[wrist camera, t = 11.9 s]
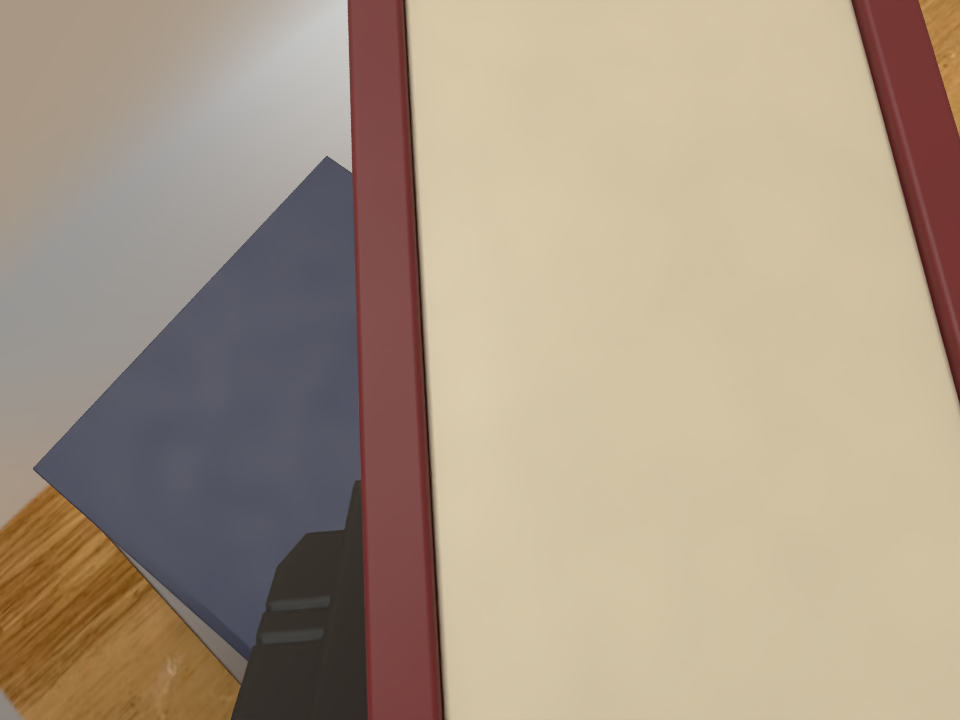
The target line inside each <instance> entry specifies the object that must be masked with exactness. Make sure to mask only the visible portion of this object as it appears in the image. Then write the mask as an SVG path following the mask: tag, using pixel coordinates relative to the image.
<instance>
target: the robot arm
mask: <svg viewBox="0 0 960 720" xmlns="http://www.w3.org/2000/svg"><path fill="white" fill-rule="evenodd" d="M265 605H266V612H263V614H262V618H261V621H260V624H259V627H258V631H257V634H256V645H254V646H253V647H252V651H251V654H250V657H249V661H248V664H247V667H246V671H245V674H244V677H243V681H242V684H241V687H240V691H239V694H238V697H237V701H236V704H235V707H234V711H233V714H232V717H231V720H368V713H367V677H366V641H365V605H364V569H363V533H362V497H361V480H356V481H355V483H354V486H353V490H352V495H351V499H350V504H349V509H348V514H347V519H346V524H345V529H344V530H335V531H323V532H311V533H306V534H305V535H304V537H303V538H302V539H301V540H300V541H299V542H298V543H297V544H296V546H295V547H294V548H293V549H292V550H291V551H290V552H289V553H288V555H287V556H286V557H285V558H284V559H283V560H282V561H281V562H280V564H279V565H278V566H277V568H276V571H275V574H274V578H273V581H272V584H271V588H270V591H269V594H268V598H267V601H266V604H265Z"/></svg>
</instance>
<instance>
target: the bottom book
mask: <svg viewBox="0 0 960 720" xmlns="http://www.w3.org/2000/svg"><path fill="white" fill-rule="evenodd" d="M33 470H34V471H36V472H37V473H38V474H39V475H40V476H41V477H42V478H43V479H45V480H46V481H47V482H48V483H49V484H50V485H51V486H52V487H53V488H55V489H56V490H57V491H58V492H59V493H60V494H61V495H62V496H63V497H65V498H66V499H67V500H68V501H69V502H70V503H71V504H72V505H74V506H75V507H76V508H77V509H78V510H79V511H80V512H81V513H83V514H84V515H85V516H86V517H87V518H88V519H89V520H90V521H91V522H93V523H94V524H95V525H96V526H97V527H98V528H99V529H100V530H102V531H103V532H104V533H105V534H106V535H107V536H108V537H109V538H111V539H112V540H113V541H114V542H115V543H116V544H117V545H118V546H119V547H121V548H122V549H123V550H124V551H125V552H126V553H127V554H128V555H130V556H131V557H132V558H133V559H134V560H135V561H136V562H137V563H139V564H140V565H141V566H142V567H143V568H144V569H145V570H146V571H147V572H149V573H150V574H151V575H152V576H153V577H154V578H155V579H156V580H158V581H159V582H160V583H161V584H162V585H163V586H164V587H165V588H167V589H168V590H169V591H170V592H171V593H172V594H173V595H174V596H175V597H177V598H178V599H179V600H180V601H181V602H182V603H183V604H184V605H186V606H187V607H188V608H189V609H190V610H191V611H192V612H193V613H195V614H196V615H197V616H198V617H199V618H200V619H201V620H202V621H203V622H205V623H206V624H207V625H208V626H209V627H210V628H211V629H212V630H214V631H215V632H216V633H217V634H218V635H219V636H220V637H221V638H223V639H224V640H225V641H226V642H227V643H228V644H229V645H230V646H231V647H233V648H234V649H235V650H236V651H237V652H238V653H239V654H240V655H242V656H243V657H244V658H245V659H246V660H247V661H249V657H250V654H251V651H252V647H253V646H254V645H256V634H257V631H258V627H259V624H260V621H261V618H262V614H263V612H266V605H265V604H266V601H267V598H268V594H269V591H270V588H271V584H272V581H273V578H274V574H275V571H276V568H277V566H278V565H279V564H280V562H281V561H282V560H283V559H284V558H285V557H286V556H287V555H288V553H289V552H290V551H291V550H292V549H293V548H294V547H295V546H296V544H297V543H298V542H299V541H300V540H301V539H302V538H303V537H304V535H305V534H306V533H311V532H323V531H335V530H344V529H345V524H346V519H347V514H348V509H349V504H350V499H351V495H352V490H353V486H354V483H355V481H356V480H361V461H360V425H359V390H358V354H357V318H356V282H355V246H354V210H353V174H352V173H351V172H350V171H348V170H346V169H345V168H344V167H342V166H341V165H339V164H338V163H336V162H335V161H334V160H332V159H331V158H329V157H328V156H326V157H325V158H324V159H323V160H322V162H320V164H319V165H318V166H317V167H316V168H315V169H314V170H313V171H312V172H311V173H310V174H309V175H308V176H307V177H306V178H305V180H304V181H303V182H302V183H301V184H300V185H299V186H298V187H297V188H296V189H295V190H294V191H293V192H292V193H291V194H290V196H289V197H288V198H287V199H286V200H285V201H284V202H283V203H282V204H281V205H280V206H279V207H278V208H277V209H276V210H275V212H274V213H273V214H272V215H271V216H270V217H269V218H268V219H267V220H266V221H265V222H264V223H263V224H262V225H261V226H260V227H259V228H258V230H257V231H256V232H255V233H254V234H253V235H252V236H251V237H250V238H249V239H248V240H247V241H246V242H245V243H244V244H243V246H242V247H241V248H240V249H239V250H238V251H237V252H236V253H235V254H234V255H233V256H232V257H231V258H230V259H229V260H228V261H227V263H226V264H225V265H224V266H223V267H222V268H221V269H220V270H219V271H218V272H217V273H216V274H215V275H214V276H213V277H212V278H211V280H210V281H209V282H208V283H207V284H206V285H205V286H204V287H203V288H202V289H201V290H200V291H199V292H198V293H197V294H196V296H195V297H194V298H193V299H192V300H191V301H190V302H189V303H188V304H187V305H186V306H185V307H184V308H183V309H182V310H181V312H179V314H178V315H177V316H176V317H175V318H174V319H173V320H172V321H171V322H170V323H169V324H168V325H167V326H166V327H165V329H164V330H163V331H162V332H161V333H160V334H159V335H158V336H157V337H156V338H155V339H154V340H153V341H152V342H151V343H150V344H149V346H148V347H147V348H146V349H145V350H144V351H143V352H142V353H141V354H140V355H139V356H138V357H137V358H136V359H135V361H133V362H132V364H131V365H130V366H129V367H128V368H127V369H126V370H125V371H124V372H123V373H122V374H121V375H120V376H119V377H118V378H117V380H116V381H115V382H114V383H113V384H112V385H111V386H110V387H109V388H108V389H107V390H106V391H105V392H104V393H103V394H102V396H101V397H100V398H99V399H98V400H97V401H96V402H95V403H94V404H93V405H92V406H91V407H90V408H89V409H88V410H87V411H86V413H85V414H84V415H83V416H82V417H81V418H80V419H79V420H78V421H77V422H76V423H75V424H74V425H73V426H72V428H70V430H69V431H68V432H67V433H66V434H65V435H64V436H63V437H62V438H61V439H60V440H59V441H58V442H57V443H56V444H55V445H54V447H53V448H52V449H51V450H50V451H49V452H48V453H47V454H46V455H45V456H44V457H43V458H42V459H41V460H40V461H39V463H38V464H37V465H36V466H35V467H34V468H33Z"/></svg>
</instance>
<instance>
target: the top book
mask: <svg viewBox="0 0 960 720" xmlns="http://www.w3.org/2000/svg"><path fill="white" fill-rule="evenodd" d="M348 30H349V62H350V63H349V65H350V66H349V67H350V100H351V101H350V102H351V138H352V174H353V210H354V246H355V282H356V318H357V354H358V390H359V425H360V461H361V497H362V533H363V569H364V605H365V641H366V677H367V713H368V720H960V137H959V134H958V131H957V127H956V124H955V121H954V117H953V114H952V111H951V107H950V104H949V101H948V97H947V94H946V91H945V87H944V84H943V81H942V77H941V74H940V71H939V67H938V64H937V61H936V57H935V54H934V51H933V48H932V44H931V41H930V38H929V34H928V31H927V28H926V24H925V21H924V18H923V14H922V11H921V8H920V4H919V1H918V0H348Z"/></svg>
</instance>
